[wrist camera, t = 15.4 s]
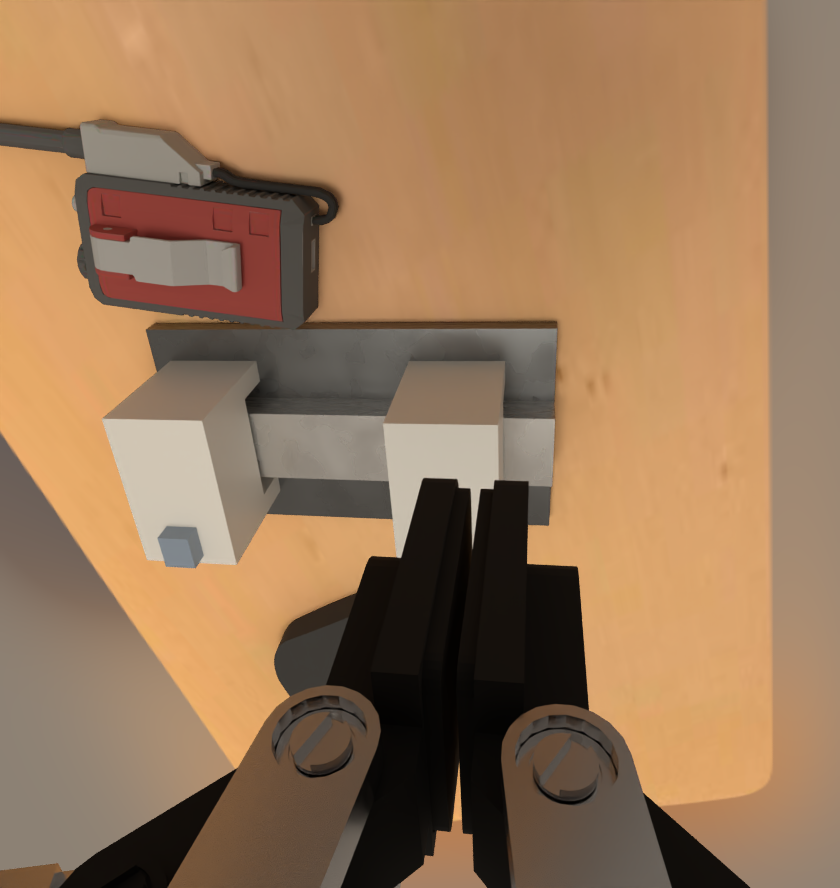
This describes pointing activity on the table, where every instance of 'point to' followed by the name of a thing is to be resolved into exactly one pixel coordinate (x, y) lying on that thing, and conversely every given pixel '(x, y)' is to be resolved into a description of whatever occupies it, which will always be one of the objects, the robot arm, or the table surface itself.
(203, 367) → the mounted module
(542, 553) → the table surface
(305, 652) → the media streaming box
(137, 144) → the walkie-talkie
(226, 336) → the rail plate
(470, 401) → the block
